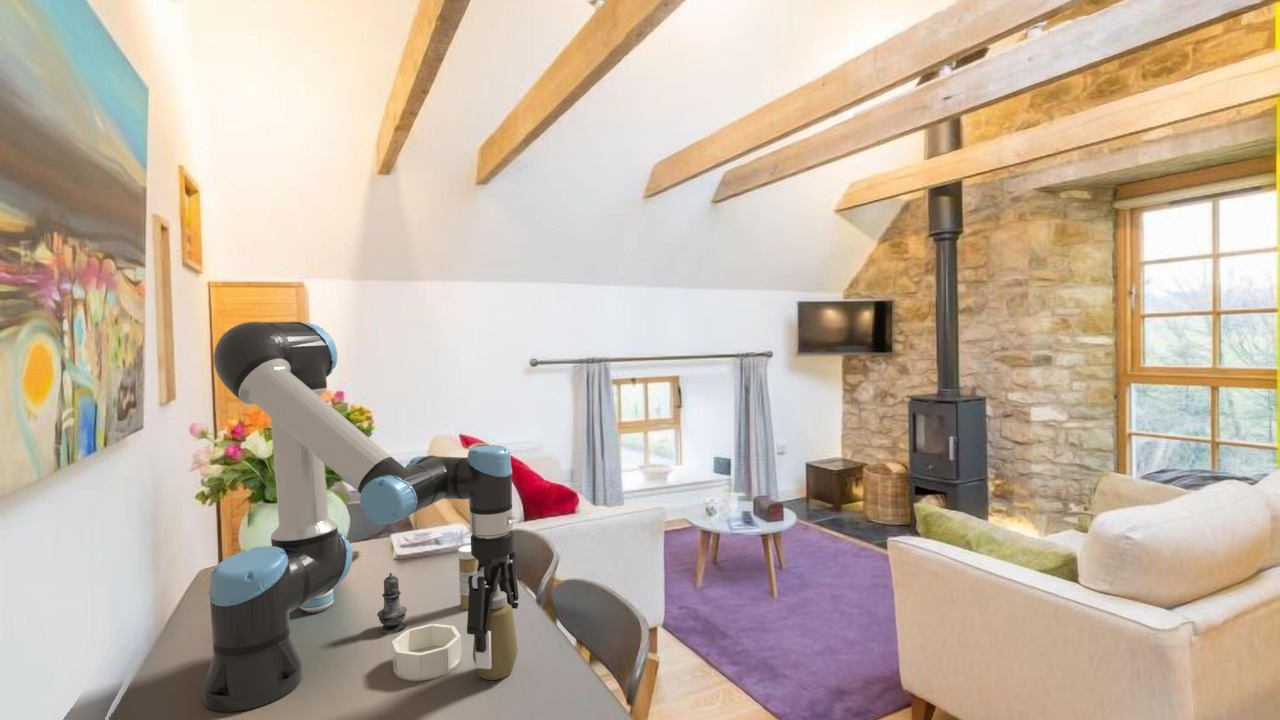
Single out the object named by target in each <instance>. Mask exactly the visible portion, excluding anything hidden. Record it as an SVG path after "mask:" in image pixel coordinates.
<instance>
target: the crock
mask: <svg viewBox="0 0 1280 720" xmlns="http://www.w3.org/2000/svg"><path fill="white" fill-rule="evenodd" d="M391 651H392V652H391V653H392V654H391V655H392V657H391V658H392V666H393V668H392V670H393V673H394V675H395V676H396V677H398V679H401V680H404V681H411V682H422V681H427V680H429V681H430V680H433V679H437V678H440V677H442V676H445V675H447V674H449V673H451V672H452V671H453V670H455V669H456V668H457V667H458V666H459V664H460V663H461V659H462V655H463V654H462V636H461V634H460V632H459V631H458V629H457V627H456V626H454V625H448V624H438V623H430V624H426V625H422V626H417V627H414V628H410V629H407V630H405V631H404V632H402V633H401V634H400V635H398V636H397V637H396V638H394V639H393V640H392V641H391Z"/></svg>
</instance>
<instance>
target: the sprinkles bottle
mask: <svg viewBox="0 0 1280 720" xmlns="http://www.w3.org/2000/svg"><path fill="white" fill-rule="evenodd" d="M457 556H458V557H457V558H458V564H459V565H458V566H459V569H458V570H459V574H458V575H459V577H458V578H459V599H460V600H459V601H460V604H459V606H460V608H461V609H463V610H468V603H469V584H468V578H469V576H470V575H471V576H475V575H476V574H477V568H478V560H477V559H476V558H475V557H473V556H472V554H471V544H469V545H464V546H461V547H459V548H458V550H457Z"/></svg>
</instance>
